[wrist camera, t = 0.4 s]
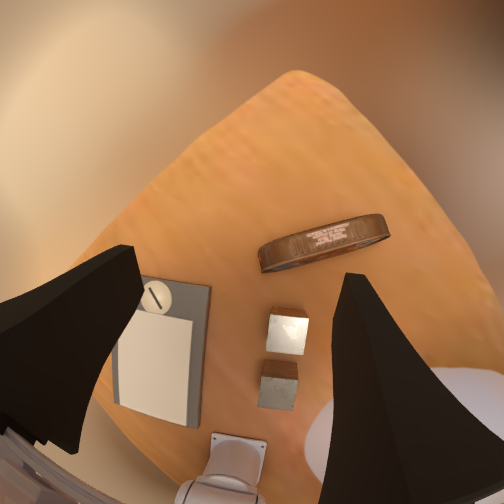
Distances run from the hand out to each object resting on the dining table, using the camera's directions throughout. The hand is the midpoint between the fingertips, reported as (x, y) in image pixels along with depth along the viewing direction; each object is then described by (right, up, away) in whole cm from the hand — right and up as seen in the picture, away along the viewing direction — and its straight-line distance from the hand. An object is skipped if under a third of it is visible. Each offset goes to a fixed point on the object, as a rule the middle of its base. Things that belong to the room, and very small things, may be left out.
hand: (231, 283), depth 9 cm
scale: (-13, -13, +26) cm, 32 cm away
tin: (+9, +2, +25) cm, 27 cm away
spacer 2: (+4, -15, +24) cm, 29 cm away
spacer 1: (+5, -8, +25) cm, 26 cm away
